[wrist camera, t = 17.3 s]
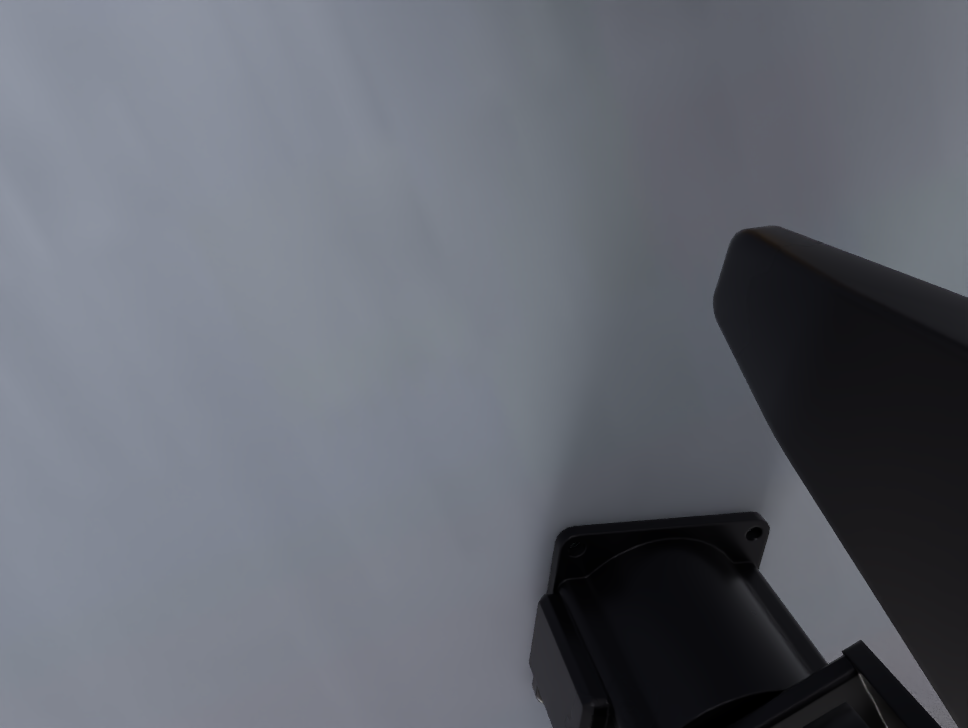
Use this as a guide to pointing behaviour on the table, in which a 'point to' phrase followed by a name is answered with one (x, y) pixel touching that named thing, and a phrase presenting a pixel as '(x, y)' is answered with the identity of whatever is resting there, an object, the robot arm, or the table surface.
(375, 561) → the table surface
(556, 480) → the table surface
